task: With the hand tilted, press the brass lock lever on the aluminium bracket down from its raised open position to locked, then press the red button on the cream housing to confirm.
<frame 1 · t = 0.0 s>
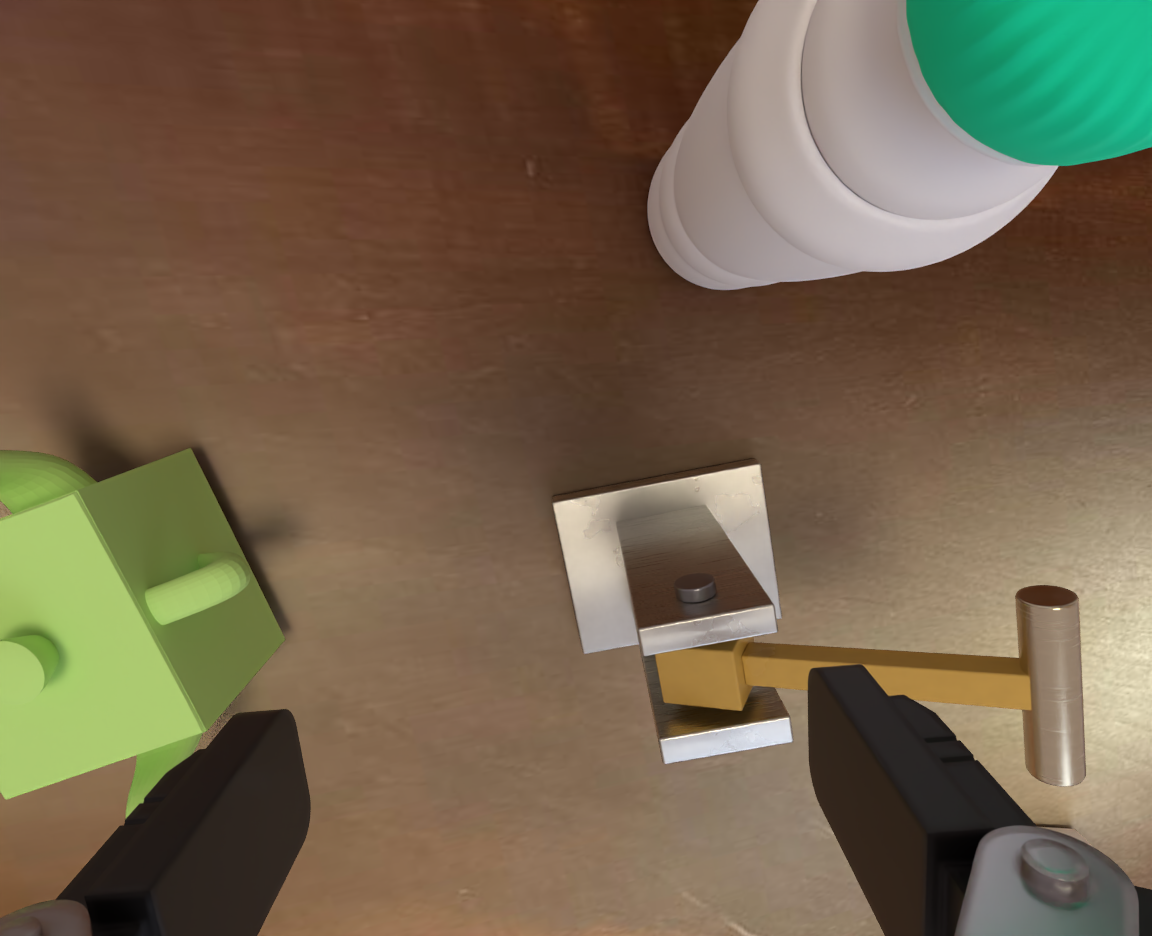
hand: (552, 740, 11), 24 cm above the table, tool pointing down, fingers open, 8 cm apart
water bottle: (722, 210, 32), on the table
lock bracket: (666, 553, 35), on the table
teapot: (172, 566, 36), on the table
lock lever: (848, 670, 22), point 13 cm above the table, hinge at 28.0°
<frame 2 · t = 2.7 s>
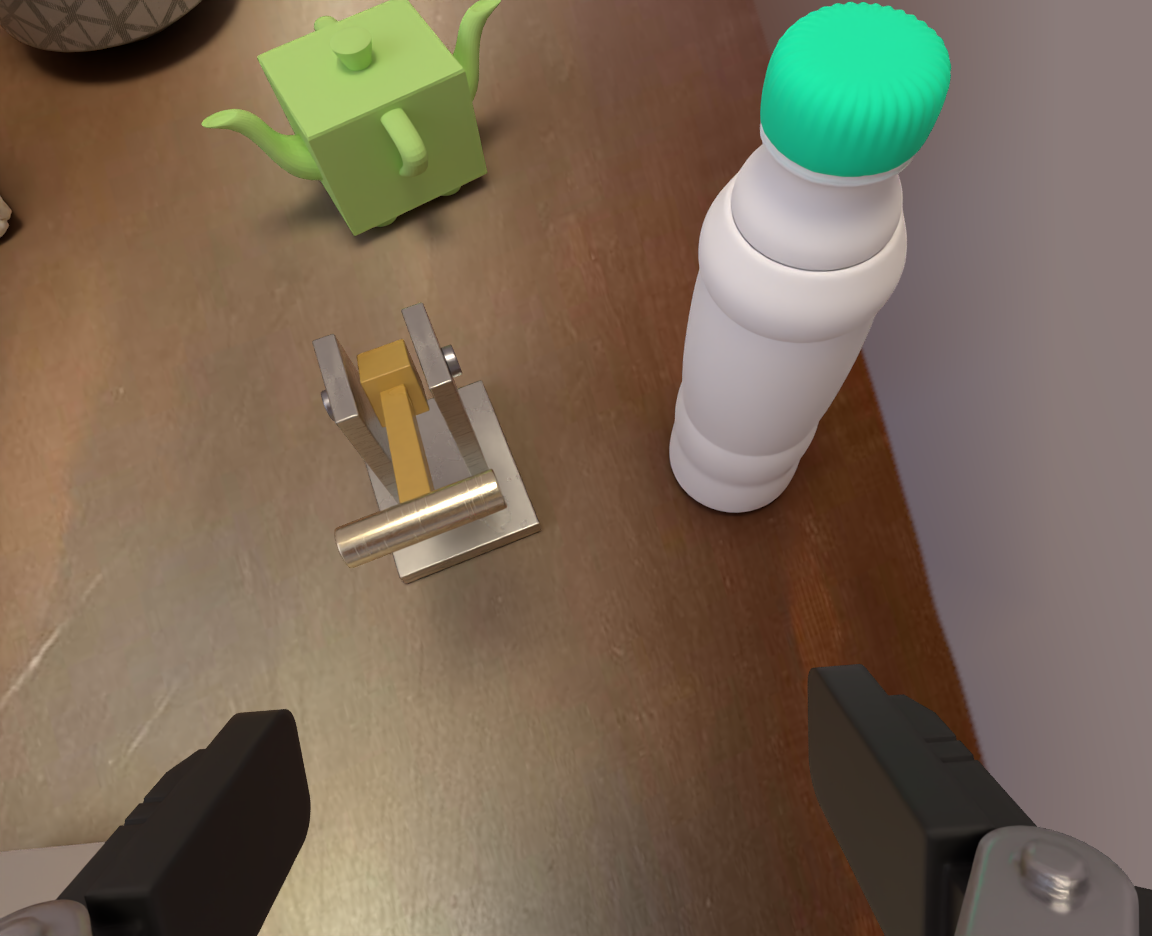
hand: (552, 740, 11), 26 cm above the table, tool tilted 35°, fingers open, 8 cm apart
water bottle: (729, 461, 41), on the table
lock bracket: (447, 481, 41), on the table
teapot: (401, 180, 52), on the table
lock lever: (404, 436, 28), point 13 cm above the table, hinge at 28.0°
milk carton: (90, 929, 33), on the table
planter: (136, 14, 62), on the table
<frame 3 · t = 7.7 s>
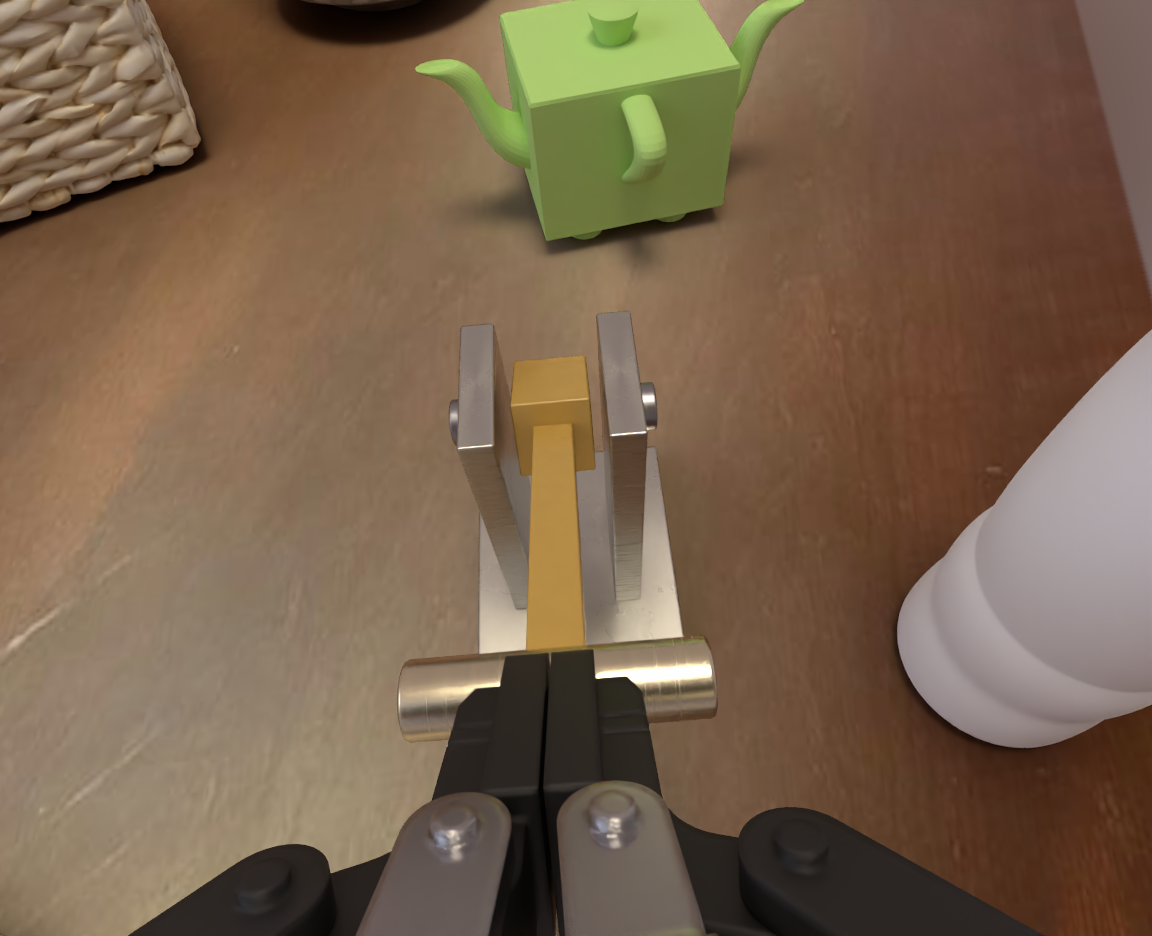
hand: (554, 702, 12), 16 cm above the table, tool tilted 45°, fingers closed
water bottle: (984, 656, 28), on the table
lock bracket: (576, 566, 30), on the table
teapot: (616, 194, 43), on the table
lock lever: (555, 509, 17), point 13 cm above the table, hinge at 24.1°, touching gripper
basket: (7, 131, 51), on the table
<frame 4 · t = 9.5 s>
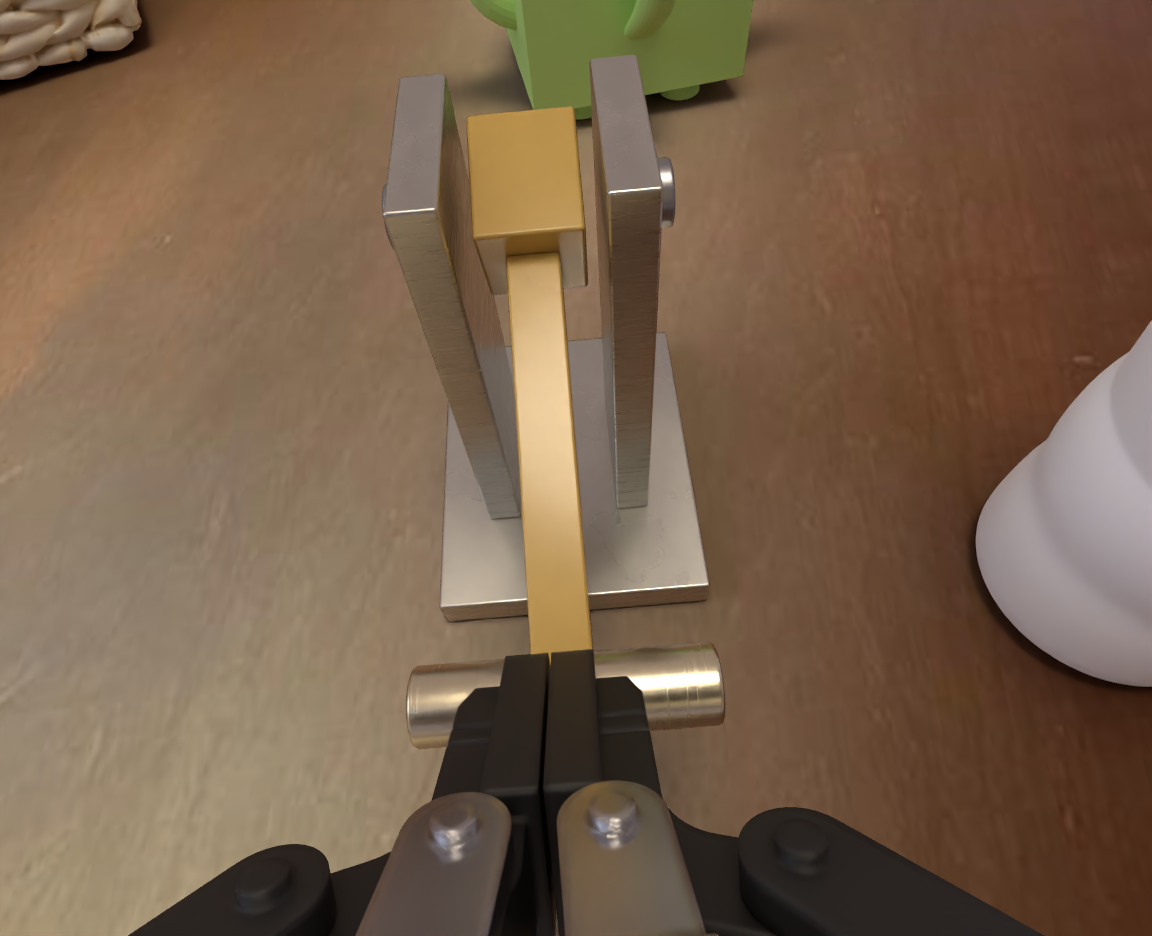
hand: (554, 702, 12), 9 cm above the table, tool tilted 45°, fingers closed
water bottle: (1087, 577, 22), on the table
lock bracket: (567, 473, 24), on the table
teapot: (617, 74, 37), on the table
lock lever: (545, 413, 14), point 10 cm above the table, hinge at -18.7°, touching gripper
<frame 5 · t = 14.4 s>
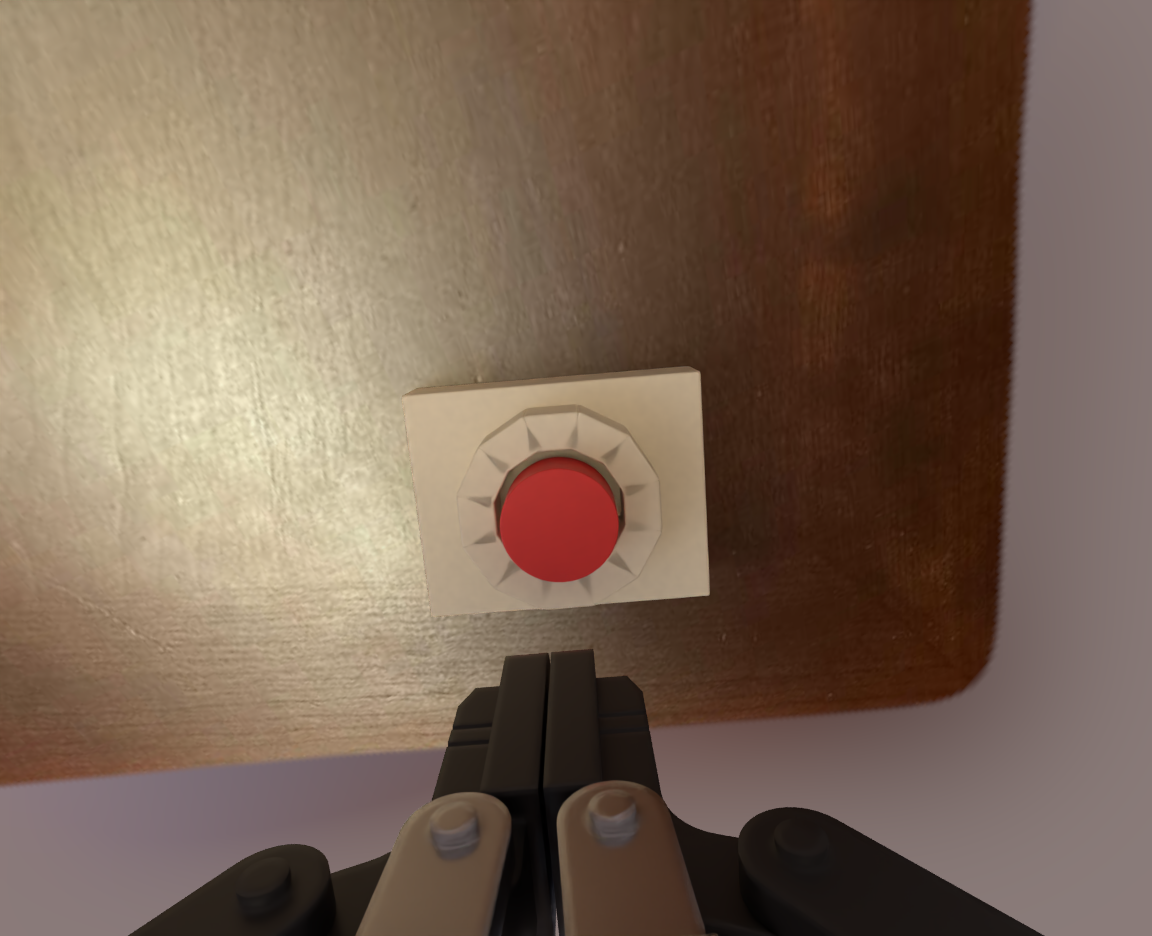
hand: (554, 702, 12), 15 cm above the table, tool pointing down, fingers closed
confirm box: (561, 483, 27), on the table
confirm button: (559, 518, 22), point 4 cm above the table, slide at 0.1 cm
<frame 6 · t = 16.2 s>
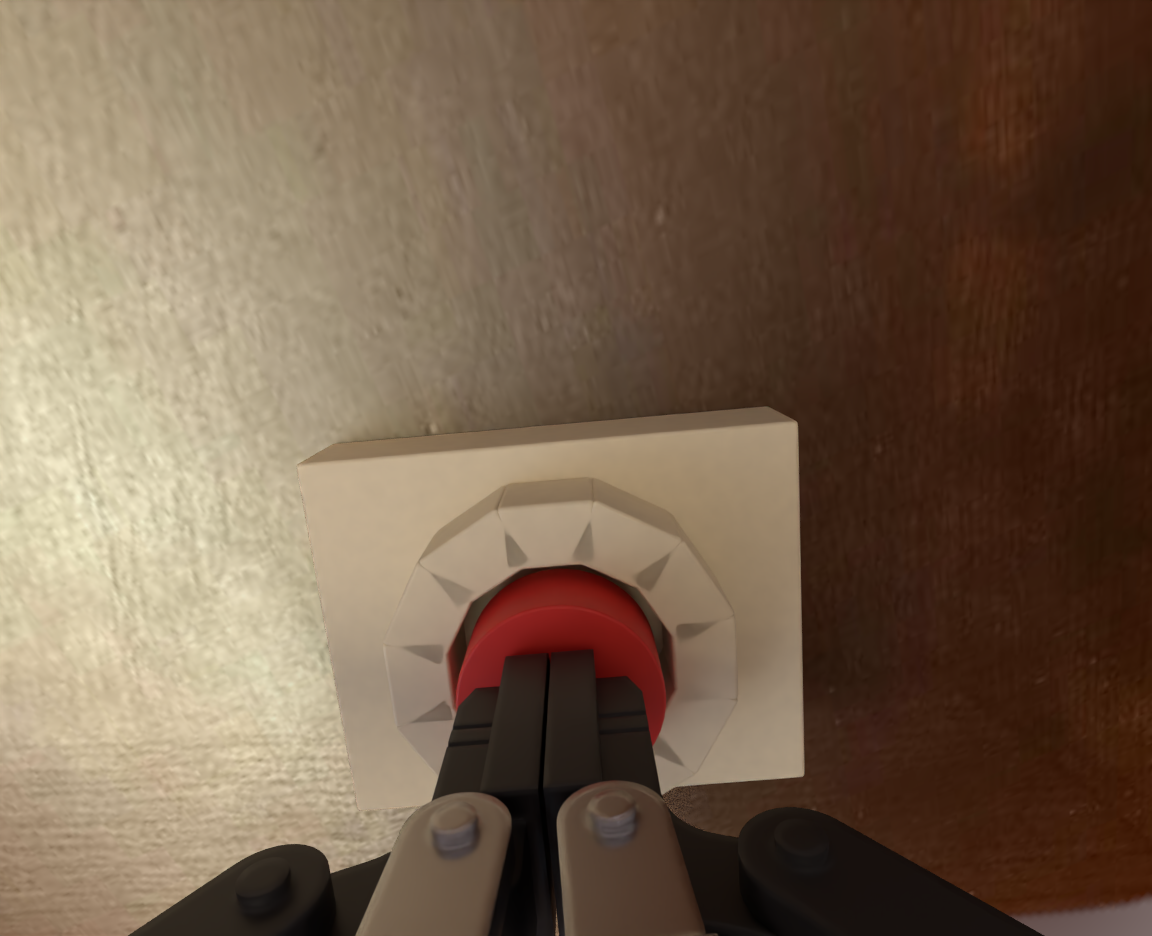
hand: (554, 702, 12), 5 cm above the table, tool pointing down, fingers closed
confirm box: (564, 589, 17), on the table
confirm button: (561, 678, 13), point 4 cm above the table, slide at -0.2 cm, touching gripper
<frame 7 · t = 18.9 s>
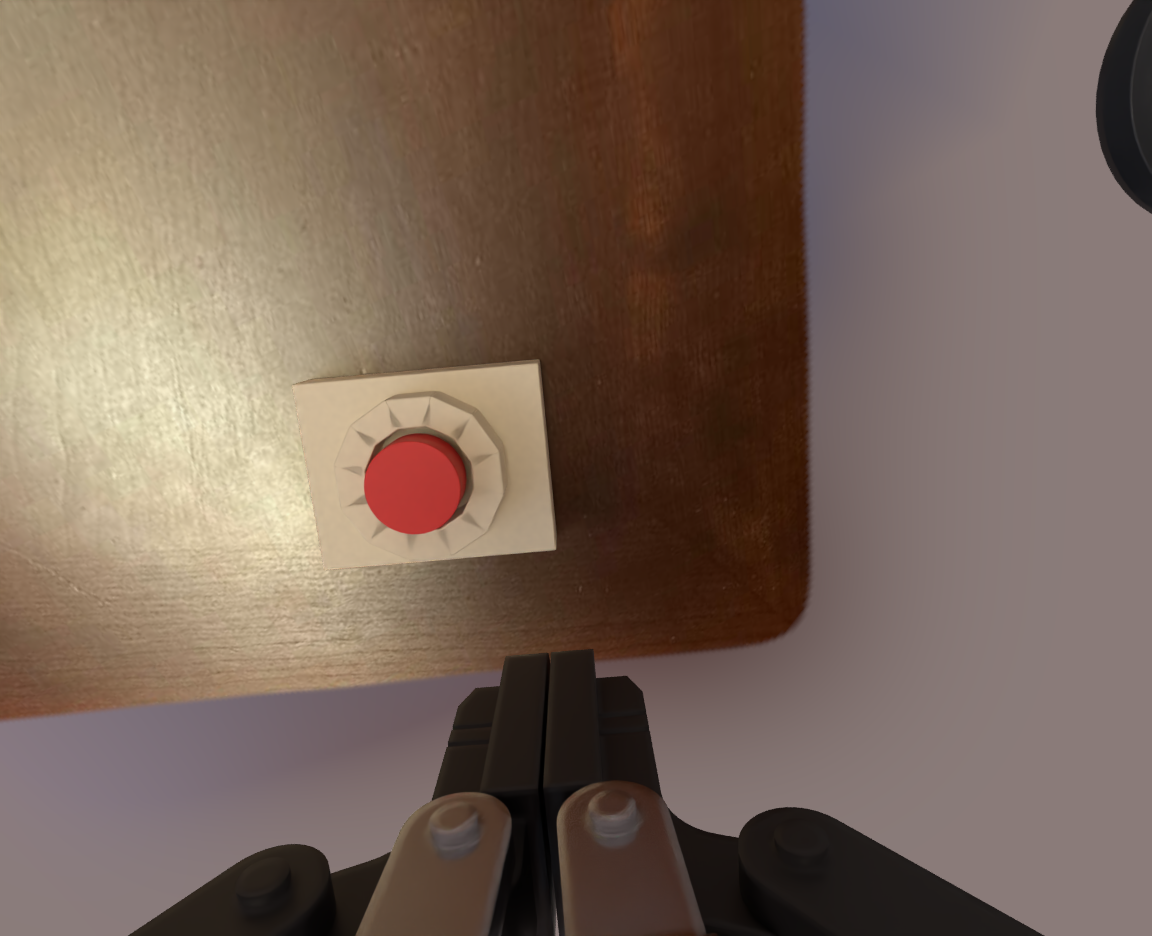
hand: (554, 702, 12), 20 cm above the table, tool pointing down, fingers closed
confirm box: (436, 459, 32), on the table
confirm button: (416, 483, 27), point 4 cm above the table, slide at 0.1 cm
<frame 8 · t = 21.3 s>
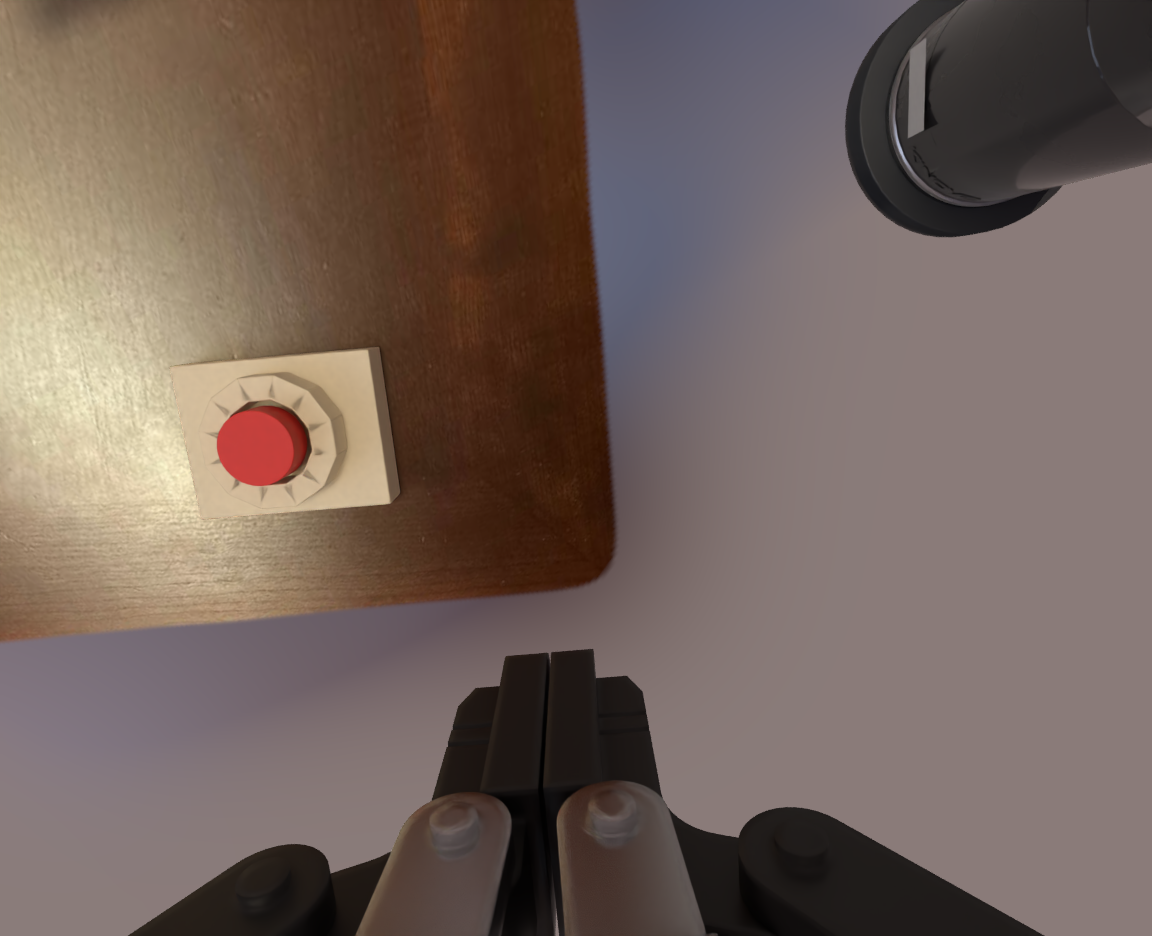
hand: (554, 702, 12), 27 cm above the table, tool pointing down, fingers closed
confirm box: (298, 429, 38), on the table
confirm button: (263, 445, 34), point 4 cm above the table, slide at 0.1 cm
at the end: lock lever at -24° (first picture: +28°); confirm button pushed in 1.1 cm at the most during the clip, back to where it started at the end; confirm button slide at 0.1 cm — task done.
